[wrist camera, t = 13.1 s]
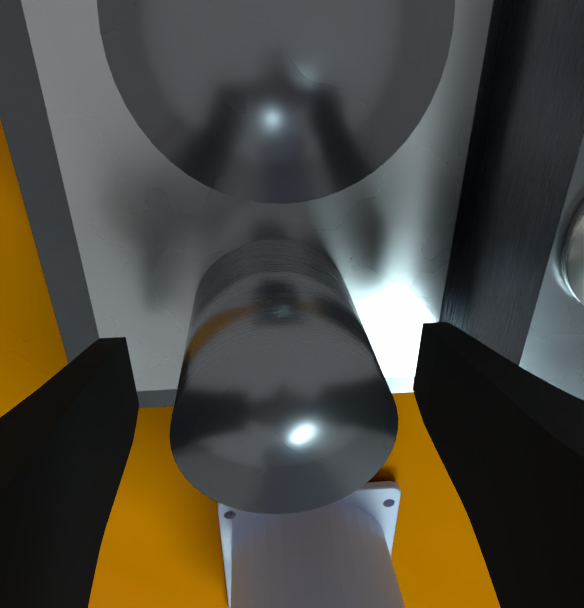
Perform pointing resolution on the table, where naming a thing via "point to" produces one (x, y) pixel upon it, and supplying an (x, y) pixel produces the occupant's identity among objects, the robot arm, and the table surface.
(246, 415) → the cylinder
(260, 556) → the robot arm
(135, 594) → the table surface
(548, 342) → the dial scale
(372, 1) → the cylinder
